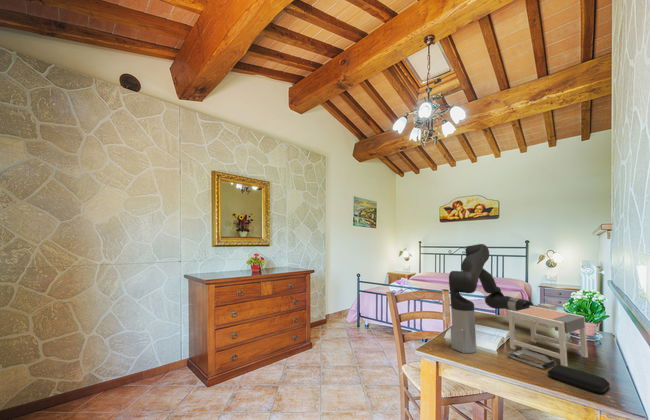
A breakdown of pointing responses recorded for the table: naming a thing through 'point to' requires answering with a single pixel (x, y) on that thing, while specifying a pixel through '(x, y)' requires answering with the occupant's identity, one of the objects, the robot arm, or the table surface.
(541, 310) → the trapdoor
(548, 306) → the plain beige rectangular block
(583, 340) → the trapdoor stand
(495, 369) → the table surface
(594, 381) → the carrying case or bag
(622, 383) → the table surface
